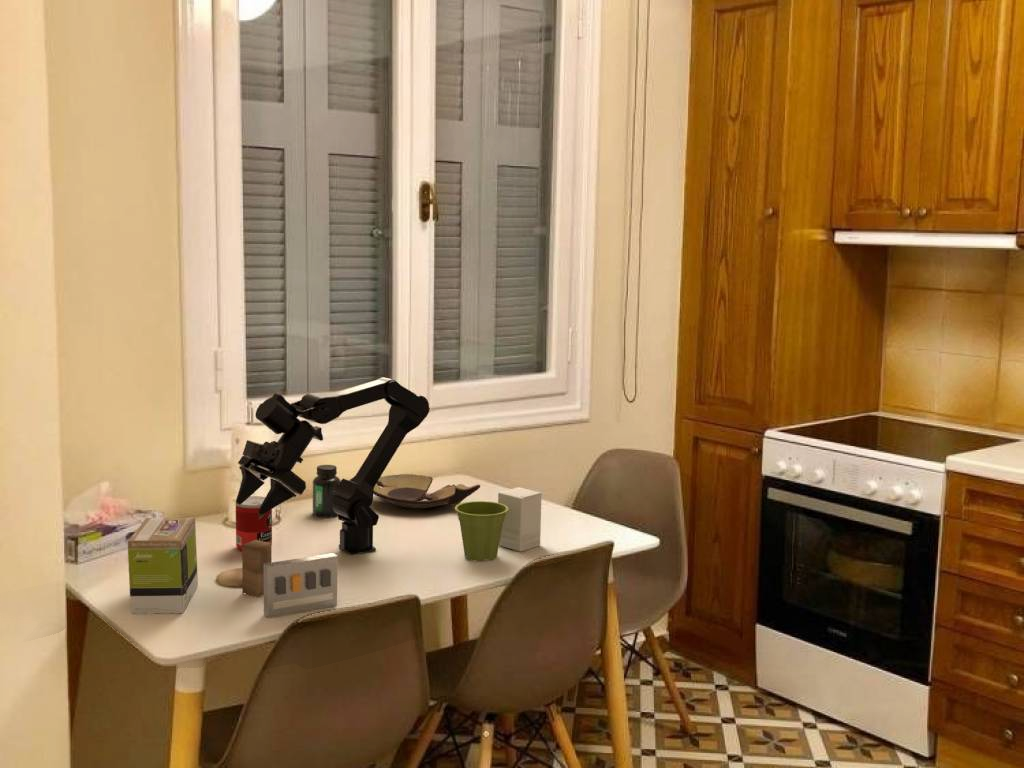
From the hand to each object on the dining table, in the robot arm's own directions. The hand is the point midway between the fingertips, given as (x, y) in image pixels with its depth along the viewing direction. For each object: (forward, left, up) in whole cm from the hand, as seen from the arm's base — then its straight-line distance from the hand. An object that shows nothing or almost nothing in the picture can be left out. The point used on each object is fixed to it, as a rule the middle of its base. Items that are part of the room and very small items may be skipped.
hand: (248, 508), depth 232 cm
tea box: (+19, +7, -14) cm, 25 cm away
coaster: (+2, +2, -14) cm, 14 cm away
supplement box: (-61, +9, -14) cm, 63 cm away
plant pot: (-49, +12, -14) cm, 52 cm away
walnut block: (+2, +11, -14) cm, 18 cm away
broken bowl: (-56, -30, -14) cm, 65 cm away
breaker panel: (-2, +24, -14) cm, 28 cm away
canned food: (-7, -16, -14) cm, 22 cm away
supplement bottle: (-32, -34, -14) cm, 48 cm away
